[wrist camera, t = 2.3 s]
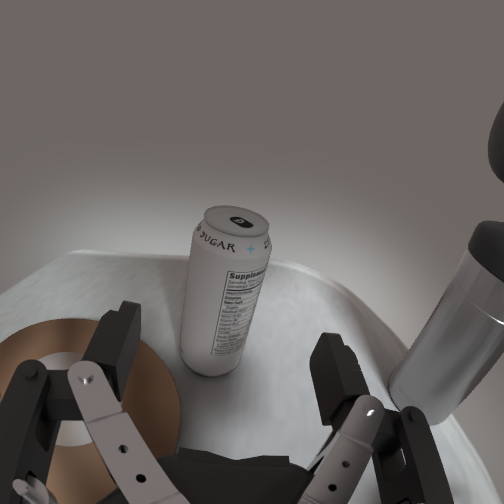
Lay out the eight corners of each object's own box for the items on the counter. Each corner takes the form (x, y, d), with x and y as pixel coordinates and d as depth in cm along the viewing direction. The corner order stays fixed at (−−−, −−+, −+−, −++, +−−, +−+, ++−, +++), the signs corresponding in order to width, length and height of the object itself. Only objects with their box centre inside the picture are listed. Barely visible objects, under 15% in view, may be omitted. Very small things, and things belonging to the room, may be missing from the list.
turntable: (148, 322, 31) (148, 309, 30) (216, 485, 17) (219, 478, 16) (-12, 334, 22) (-17, 321, 21) (-15, 507, 8) (-27, 500, 8)
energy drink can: (212, 328, 34) (237, 199, 27) (251, 363, 30) (293, 229, 23) (167, 350, 29) (179, 208, 22) (206, 391, 26) (235, 245, 19)
